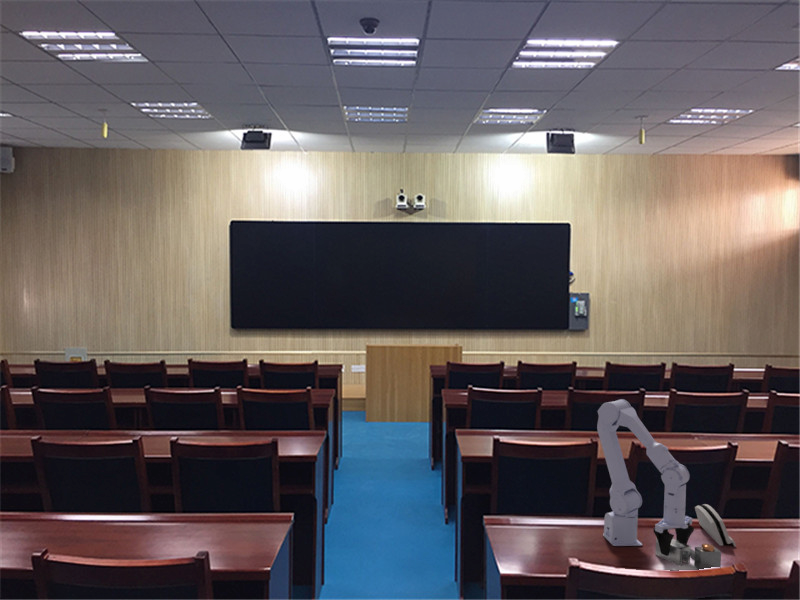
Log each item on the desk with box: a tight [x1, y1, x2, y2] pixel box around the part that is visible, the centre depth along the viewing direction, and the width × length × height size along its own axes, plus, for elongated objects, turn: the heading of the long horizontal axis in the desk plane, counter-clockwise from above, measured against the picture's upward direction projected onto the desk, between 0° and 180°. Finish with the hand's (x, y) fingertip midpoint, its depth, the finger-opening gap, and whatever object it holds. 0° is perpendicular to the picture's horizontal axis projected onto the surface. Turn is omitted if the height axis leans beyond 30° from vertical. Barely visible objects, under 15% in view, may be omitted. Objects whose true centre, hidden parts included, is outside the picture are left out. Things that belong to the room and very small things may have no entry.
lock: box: [654, 537, 692, 567], centre depth 172 cm, size 8×5×5 cm, turn 29°
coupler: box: [690, 543, 722, 570], centre depth 170 cm, size 6×11×6 cm, turn 4°
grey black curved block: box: [694, 503, 737, 547], centre depth 190 cm, size 17×5×10 cm, turn 173°
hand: (672, 551), depth 172 cm, fingers open, 7 cm apart
